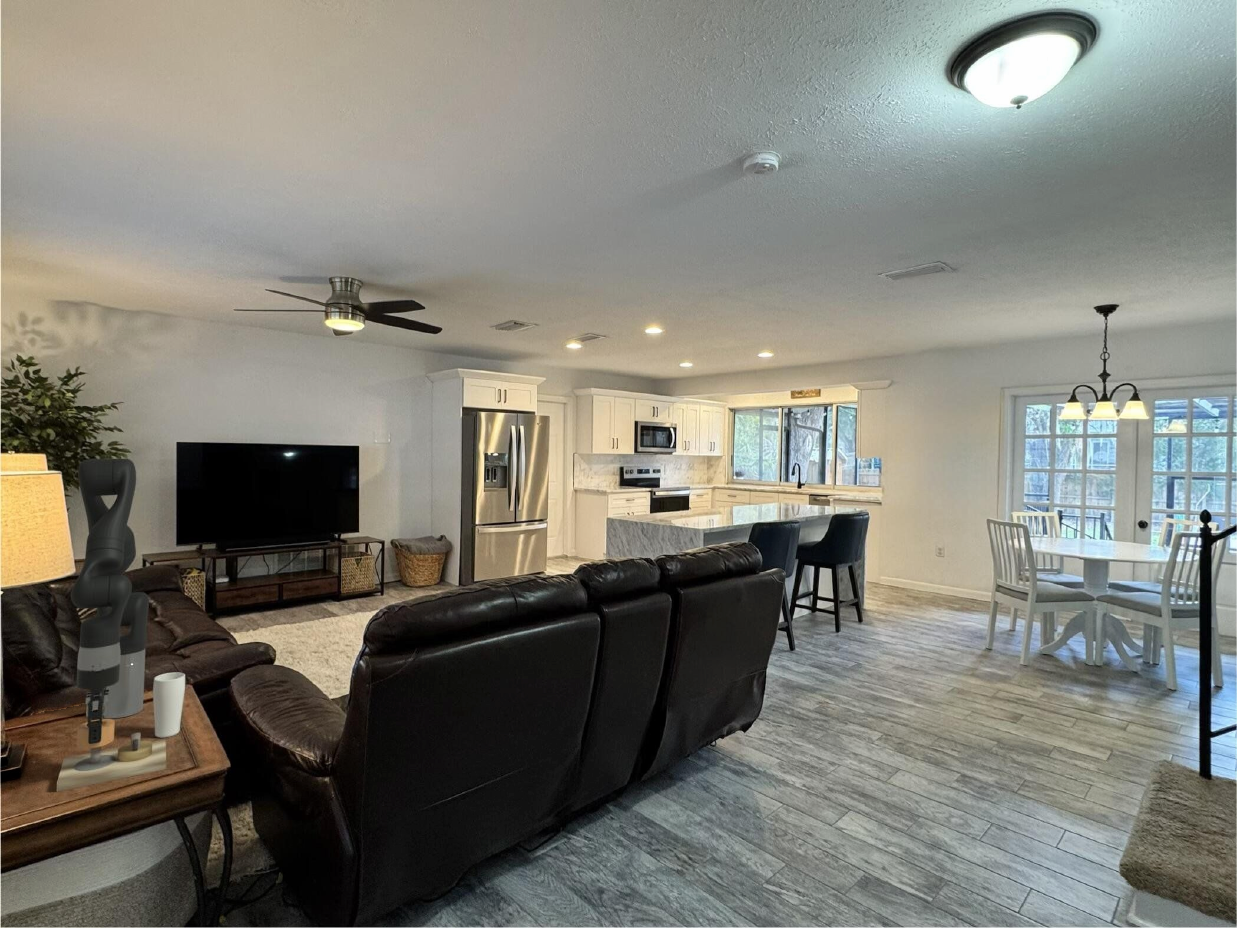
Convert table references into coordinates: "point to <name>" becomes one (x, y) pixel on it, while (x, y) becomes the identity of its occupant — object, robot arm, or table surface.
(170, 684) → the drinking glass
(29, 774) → the table surface
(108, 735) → the gear
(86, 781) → the gear board
